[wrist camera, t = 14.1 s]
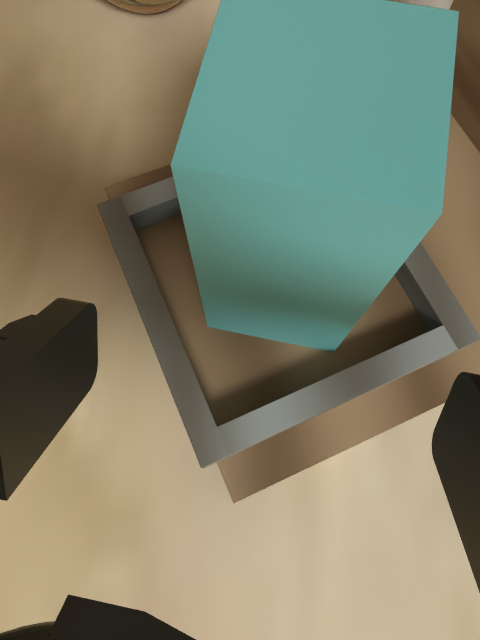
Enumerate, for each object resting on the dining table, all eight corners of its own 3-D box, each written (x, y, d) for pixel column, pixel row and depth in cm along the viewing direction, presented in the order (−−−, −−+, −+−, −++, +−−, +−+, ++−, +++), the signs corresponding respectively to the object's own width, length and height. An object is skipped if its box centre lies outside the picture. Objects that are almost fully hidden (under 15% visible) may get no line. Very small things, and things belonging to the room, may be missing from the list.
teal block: (207, 326, 18) (170, 164, 8) (234, 217, 19) (228, -24, 10) (333, 352, 18) (442, 213, 8) (351, 239, 19) (459, 11, 10)
